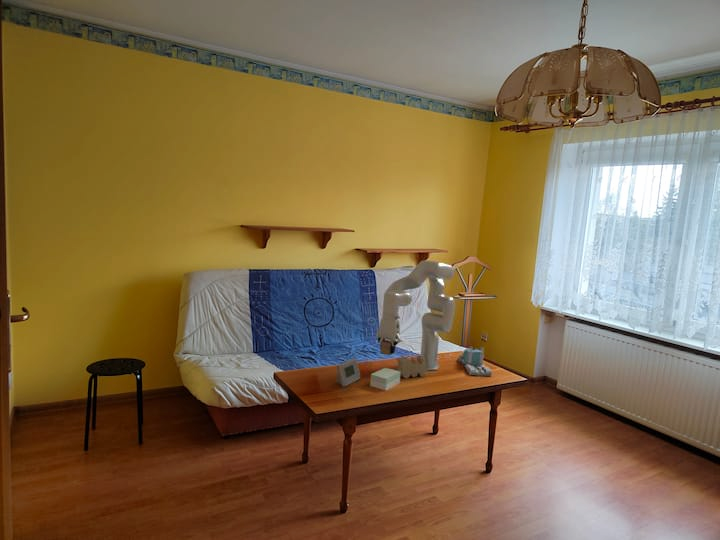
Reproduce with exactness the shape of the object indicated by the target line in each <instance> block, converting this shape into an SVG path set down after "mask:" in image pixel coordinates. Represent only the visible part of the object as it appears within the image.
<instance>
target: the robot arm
mask: <svg viewBox="0 0 720 540" xmlns="http://www.w3.org/2000/svg"><path fill="white" fill-rule="evenodd" d="M454 275H455V269H454V267H453V266H452V265H451V264H447V263H443V262H439V261H435V260H433V261H432V260H427V259H426V260H421V261H419V263H418V264H417V265H416V266H415V267H414V268H413V270H412V271H410V273H409V274H408V275H406V276H403V277H402V278H399V279H397V280H395V281H393V282H392V283H391V284H390V285H389V286H388V288H387V289H386V291H385V292H384V294H383V302H382V303H383V305H382V317H381V319H380V321H379V326H378V331H377V333H376V334H375V337H376V338H377V340H378V342H379V345H380V347H379V348H380V351H381V341H384V340H390V341H391V344H392V346H391V349H390V354H391V355H393V353H394V354H395V352H396V346H397V345H398V344H399V343H401V342H403V340H402V338H401V335H400V332H401V329H400V328H401V327H400V326H401V325H400V319H401V318H400V317H401V316H400V315H399V314H398V313H399V307H407V306H409V305H411V303H412V301H413V300H412V299H413V297H412V295H411V293H410V292H408V290H414V289H417V288H420V287H421V286H422V285H423V284H424V283H425V281H426V280H428V283H429V290H428V294H427V295H428V296H427V303H426V305H427V308H428V309H429V310H431V311H434V312H426V313H425V312H424V314H423V315H422V317H421V329H422V333H421V345H420V346H421V347H420V356H421V357H423V358H425V363H427V364H426V368H427V369H428V371H437V370H439V369H440V365H439V364H438V361H439V357H438V353H439V343H440V342H439V340H440V339H439V338H440V337H439V333H443V334H446V333H449V332H450V331H451V330H452V327H453V323H454V317H455V312H456V300H455V299H454V297H452V296H450V295H445V291H446V289H445V288H446V286H445V281H451V280H452V279H453V278H454ZM435 312H438V313H435ZM439 313H440V314H439ZM441 313H442V314H441ZM438 332H439V333H438Z"/></svg>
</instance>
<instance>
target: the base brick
mask: <svg viewBox="0 0 720 540" xmlns="http://www.w3.org/2000/svg"><path fill="white" fill-rule="evenodd" d="M400 373H401V372H400V371H398V370H396V369H392V368H388V367H384V368H382V369H379V370H377V371H375V372H373V373H371V374H370V382H369V384H370V385H369V387H373V388H376V389H379V390H383V391H387V390H389V389H391V388H394V387H395V386H397V385H399V384H400V383H401V375H400Z"/></svg>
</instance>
